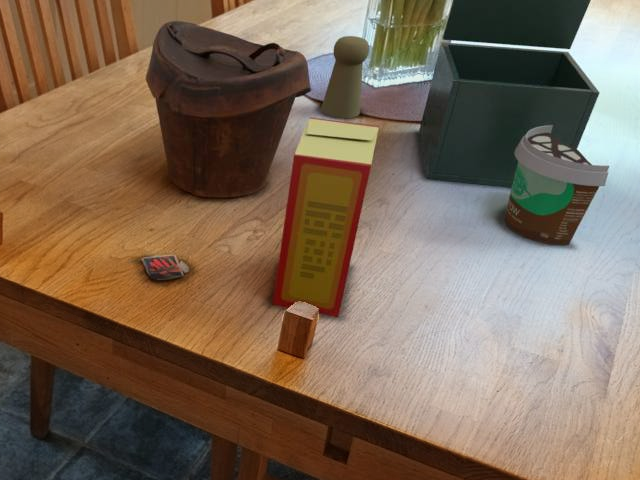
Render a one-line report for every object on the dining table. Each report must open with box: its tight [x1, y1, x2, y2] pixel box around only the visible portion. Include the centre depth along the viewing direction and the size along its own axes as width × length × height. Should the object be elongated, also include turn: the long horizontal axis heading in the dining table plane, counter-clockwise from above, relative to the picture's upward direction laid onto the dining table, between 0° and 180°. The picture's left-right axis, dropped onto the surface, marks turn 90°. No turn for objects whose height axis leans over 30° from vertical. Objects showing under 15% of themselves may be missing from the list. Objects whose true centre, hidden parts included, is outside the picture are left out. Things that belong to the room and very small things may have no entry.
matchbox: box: [137, 254, 191, 281], centre depth 76 cm, size 5×5×1 cm
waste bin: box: [418, 41, 600, 188], centre depth 96 cm, size 17×17×13 cm
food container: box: [503, 125, 610, 246], centre depth 82 cm, size 12×6×10 cm, turn 6°
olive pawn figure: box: [320, 35, 370, 119], centre depth 110 cm, size 6×6×11 cm
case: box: [145, 20, 312, 199], centre depth 88 cm, size 18×20×18 cm
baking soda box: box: [272, 117, 380, 318], centre depth 69 cm, size 10×6×16 cm
